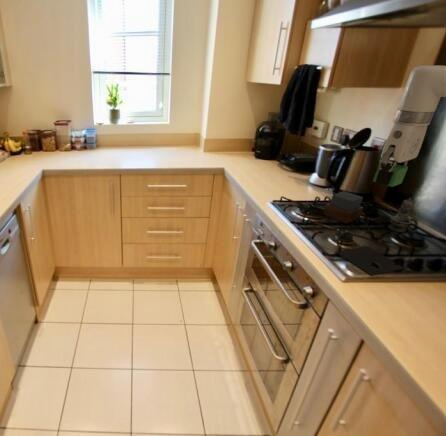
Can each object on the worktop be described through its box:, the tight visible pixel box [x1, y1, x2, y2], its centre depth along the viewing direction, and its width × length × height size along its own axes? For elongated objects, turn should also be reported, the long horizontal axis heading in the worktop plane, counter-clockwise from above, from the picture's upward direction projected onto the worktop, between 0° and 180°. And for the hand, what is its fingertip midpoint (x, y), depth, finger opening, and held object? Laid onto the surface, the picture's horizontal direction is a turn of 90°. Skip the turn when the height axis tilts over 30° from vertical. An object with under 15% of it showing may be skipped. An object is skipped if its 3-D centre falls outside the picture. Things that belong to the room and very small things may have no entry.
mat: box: [335, 246, 405, 277], centre depth 96 cm, size 12×12×1 cm
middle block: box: [329, 190, 364, 211], centre depth 119 cm, size 7×7×4 cm
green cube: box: [372, 162, 409, 188], centre depth 91 cm, size 5×5×5 cm
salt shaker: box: [387, 197, 415, 233], centre depth 110 cm, size 6×6×12 cm
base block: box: [322, 201, 365, 224], centre depth 121 cm, size 9×9×4 cm
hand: (387, 181), depth 92 cm, fingers closed on green cube, 5 cm apart
